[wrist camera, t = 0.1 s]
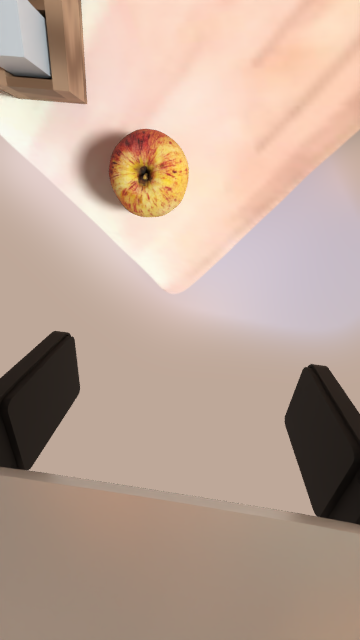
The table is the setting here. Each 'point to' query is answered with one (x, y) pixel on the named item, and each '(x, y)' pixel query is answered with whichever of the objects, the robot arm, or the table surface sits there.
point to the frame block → (56, 57)
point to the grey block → (23, 40)
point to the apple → (148, 173)
